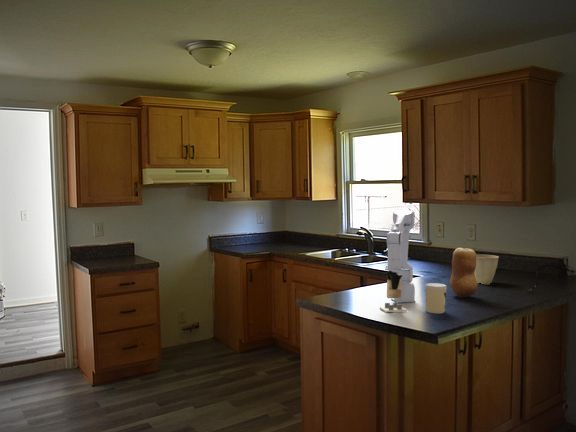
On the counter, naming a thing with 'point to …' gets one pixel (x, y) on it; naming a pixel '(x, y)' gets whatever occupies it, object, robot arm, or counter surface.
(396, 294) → the wooden block
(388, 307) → the cream pegged base plate
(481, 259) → the plant pot
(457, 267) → the butternut squash
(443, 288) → the coffee cup
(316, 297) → the counter surface
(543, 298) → the counter surface
